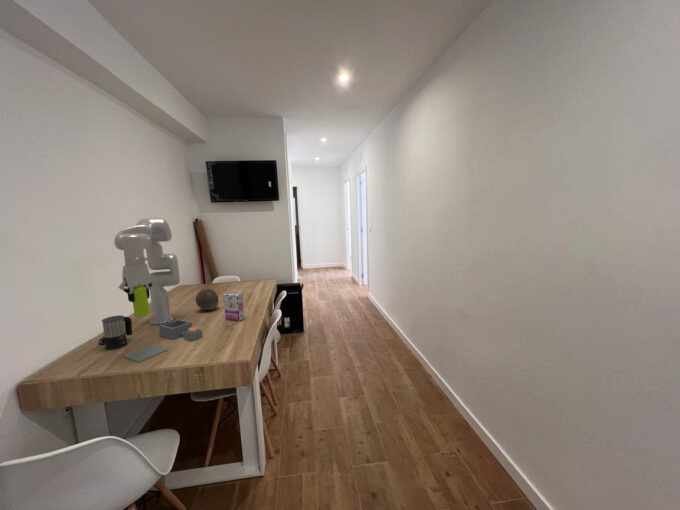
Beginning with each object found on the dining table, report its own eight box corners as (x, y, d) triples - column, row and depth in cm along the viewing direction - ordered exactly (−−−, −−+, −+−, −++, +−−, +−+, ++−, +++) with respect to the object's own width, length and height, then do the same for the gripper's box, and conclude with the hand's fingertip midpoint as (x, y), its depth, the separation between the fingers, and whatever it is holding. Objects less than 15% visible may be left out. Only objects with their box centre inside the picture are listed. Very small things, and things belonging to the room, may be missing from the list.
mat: (123, 356, 139) (123, 355, 139) (151, 345, 150) (151, 344, 150) (139, 362, 133) (139, 361, 133) (167, 350, 144) (167, 349, 144)
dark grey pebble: (212, 306, 216) (210, 286, 214) (223, 309, 208) (221, 288, 206) (193, 311, 205) (191, 290, 203) (204, 315, 197) (202, 293, 195)
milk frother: (120, 349, 147) (117, 320, 145) (86, 352, 145) (81, 323, 143) (136, 337, 161) (133, 311, 159) (104, 340, 159) (101, 313, 157)
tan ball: (187, 334, 157) (186, 328, 157) (193, 331, 161) (193, 326, 161) (192, 335, 156) (191, 330, 155) (198, 332, 159) (198, 327, 159)
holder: (160, 336, 162) (159, 325, 162) (179, 329, 172) (178, 319, 172) (187, 343, 152) (186, 332, 151) (206, 335, 162) (205, 324, 161)
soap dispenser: (137, 313, 142) (131, 272, 138) (152, 312, 142) (146, 271, 139) (129, 317, 136) (123, 275, 133) (145, 316, 136) (139, 274, 133)
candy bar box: (244, 319, 187) (242, 293, 185) (239, 321, 182) (237, 295, 180) (230, 317, 191) (229, 292, 189) (225, 319, 187) (223, 294, 185)
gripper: (149, 258, 145) (153, 294, 147) (109, 264, 130) (114, 303, 132) (158, 259, 142) (162, 296, 144) (118, 265, 126) (123, 305, 129)
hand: (139, 299), depth 138 cm, fingers closed on soap dispenser, 5 cm apart
